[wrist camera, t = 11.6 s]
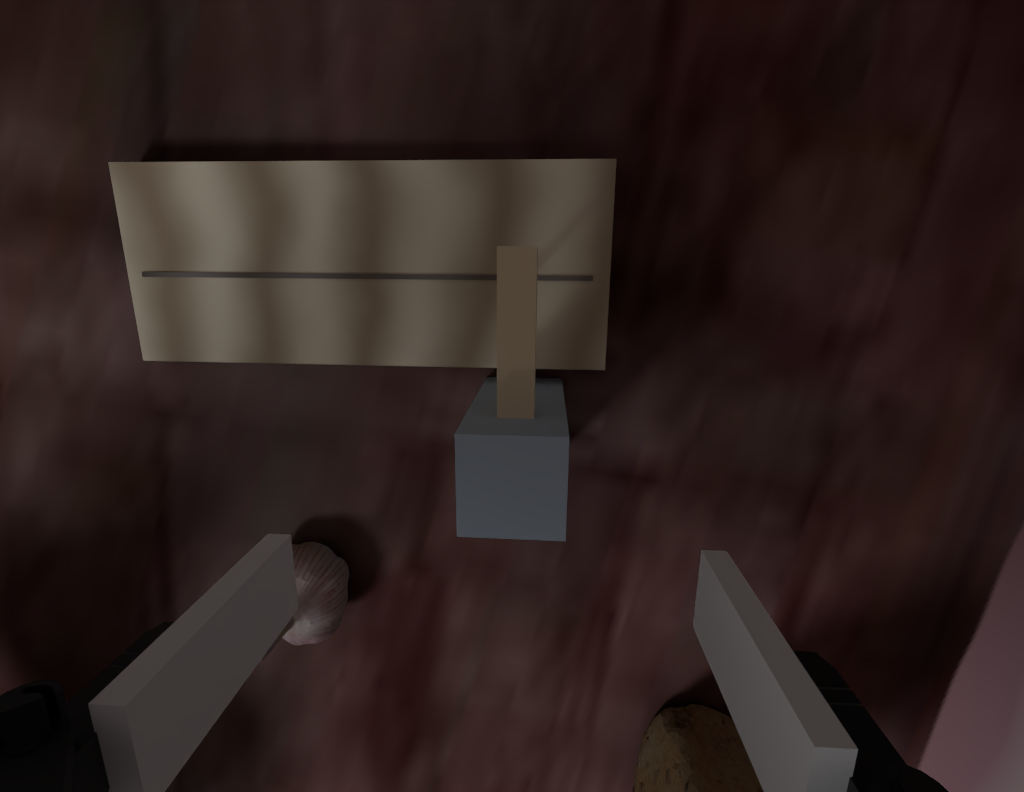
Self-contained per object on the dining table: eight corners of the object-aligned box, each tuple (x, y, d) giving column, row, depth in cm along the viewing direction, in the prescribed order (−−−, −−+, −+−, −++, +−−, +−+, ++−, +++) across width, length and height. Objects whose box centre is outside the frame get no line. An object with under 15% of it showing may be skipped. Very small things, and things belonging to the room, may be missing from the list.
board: (166, 355, 35) (142, 360, 33) (135, 168, 32) (106, 161, 30) (601, 364, 33) (605, 370, 31) (612, 165, 30) (616, 158, 28)
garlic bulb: (301, 630, 40) (241, 718, 32) (248, 557, 38) (172, 629, 31) (380, 594, 38) (338, 676, 31) (328, 517, 37) (270, 582, 29)
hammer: (487, 447, 35) (456, 536, 23) (486, 253, 31) (450, 243, 20) (559, 449, 34) (565, 541, 23) (565, 253, 31) (576, 243, 19)
